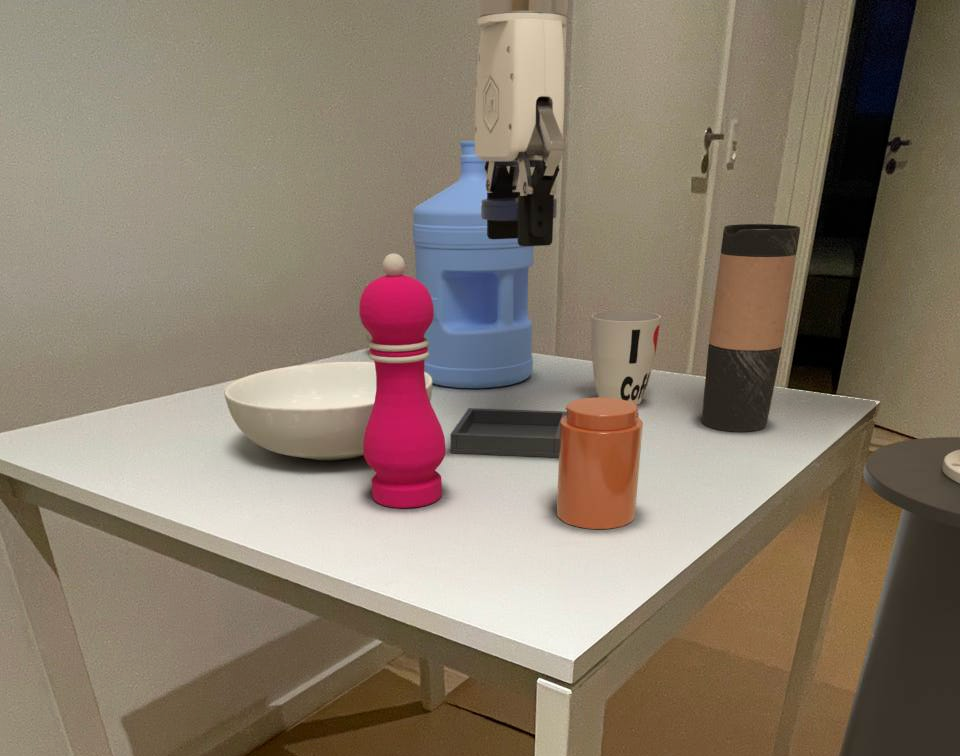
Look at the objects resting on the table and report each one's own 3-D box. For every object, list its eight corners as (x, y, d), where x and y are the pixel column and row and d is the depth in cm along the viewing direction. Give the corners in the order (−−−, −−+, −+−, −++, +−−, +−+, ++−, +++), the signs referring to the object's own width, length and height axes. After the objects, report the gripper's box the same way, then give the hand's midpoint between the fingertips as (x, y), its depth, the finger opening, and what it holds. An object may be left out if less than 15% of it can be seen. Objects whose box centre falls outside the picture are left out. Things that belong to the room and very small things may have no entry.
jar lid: (475, 221, 75) (474, 202, 74) (487, 214, 81) (487, 197, 80) (552, 220, 74) (553, 201, 73) (559, 214, 80) (559, 196, 79)
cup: (624, 413, 99) (631, 324, 94) (573, 401, 104) (576, 316, 99) (666, 401, 103) (674, 315, 98) (615, 390, 109) (620, 308, 104)
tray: (567, 429, 94) (568, 411, 92) (559, 457, 85) (560, 438, 84) (468, 425, 95) (468, 407, 94) (451, 453, 87) (450, 434, 86)
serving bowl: (394, 412, 100) (390, 352, 97) (466, 461, 84) (465, 392, 81) (217, 435, 93) (206, 371, 89) (259, 494, 76) (247, 419, 73)
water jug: (397, 374, 117) (384, 142, 103) (486, 359, 126) (484, 142, 112) (463, 396, 107) (458, 139, 93) (555, 378, 115) (564, 139, 101)
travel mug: (773, 418, 96) (805, 224, 86) (763, 436, 90) (796, 230, 80) (706, 411, 99) (730, 223, 89) (692, 428, 93) (716, 228, 83)
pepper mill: (389, 479, 80) (373, 248, 70) (459, 487, 77) (453, 250, 67) (352, 504, 74) (329, 257, 64) (427, 515, 72) (415, 259, 62)
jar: (635, 502, 74) (644, 397, 69) (634, 531, 68) (644, 418, 64) (560, 498, 75) (564, 394, 70) (553, 527, 69) (557, 415, 65)
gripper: (446, 17, 76) (450, 236, 85) (521, -14, 62) (517, 252, 71) (522, 20, 78) (519, 233, 87) (612, -9, 64) (597, 248, 73)
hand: (518, 240), depth 79 cm, fingers closed on jar lid, 6 cm apart
